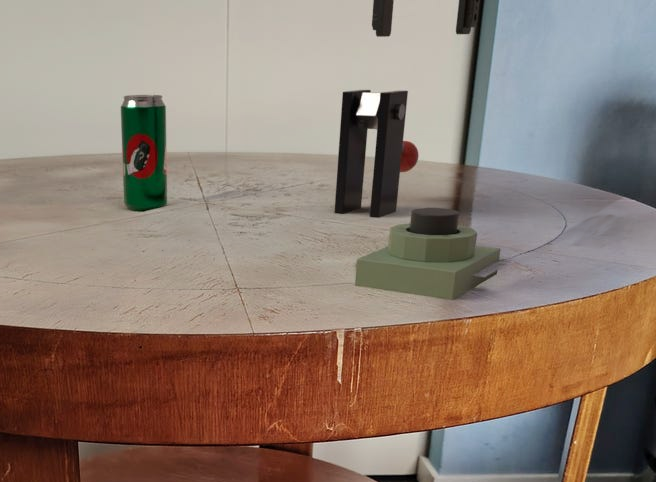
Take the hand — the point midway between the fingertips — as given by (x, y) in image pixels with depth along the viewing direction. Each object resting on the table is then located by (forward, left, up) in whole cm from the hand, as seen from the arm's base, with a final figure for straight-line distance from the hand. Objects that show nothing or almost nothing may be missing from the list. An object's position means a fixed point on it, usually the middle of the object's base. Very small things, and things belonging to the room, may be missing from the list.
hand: (421, 35), depth 91 cm
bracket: (+1, +7, -18) cm, 19 cm away
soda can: (+27, +11, -18) cm, 34 cm away
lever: (+1, +4, -11) cm, 11 cm away
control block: (-14, +27, -18) cm, 35 cm away
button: (-14, +27, -14) cm, 33 cm away
